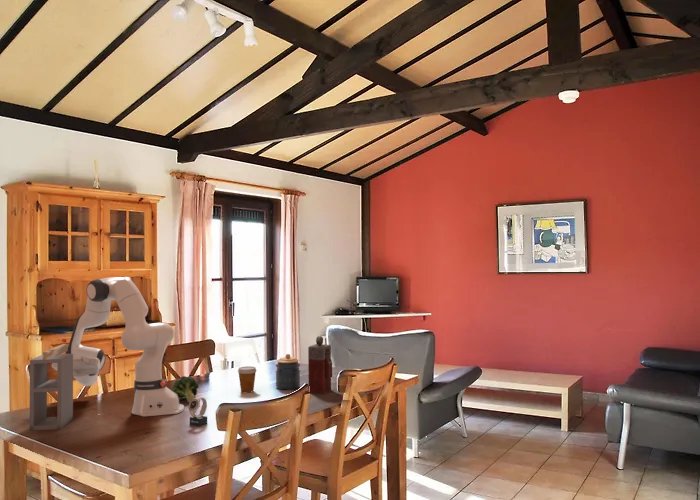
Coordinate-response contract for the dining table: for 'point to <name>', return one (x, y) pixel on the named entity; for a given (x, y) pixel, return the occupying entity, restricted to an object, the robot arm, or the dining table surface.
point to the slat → (55, 351)
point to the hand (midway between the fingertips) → (71, 358)
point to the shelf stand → (59, 385)
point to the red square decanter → (319, 367)
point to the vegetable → (186, 388)
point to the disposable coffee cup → (247, 378)
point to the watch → (193, 406)
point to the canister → (287, 373)
